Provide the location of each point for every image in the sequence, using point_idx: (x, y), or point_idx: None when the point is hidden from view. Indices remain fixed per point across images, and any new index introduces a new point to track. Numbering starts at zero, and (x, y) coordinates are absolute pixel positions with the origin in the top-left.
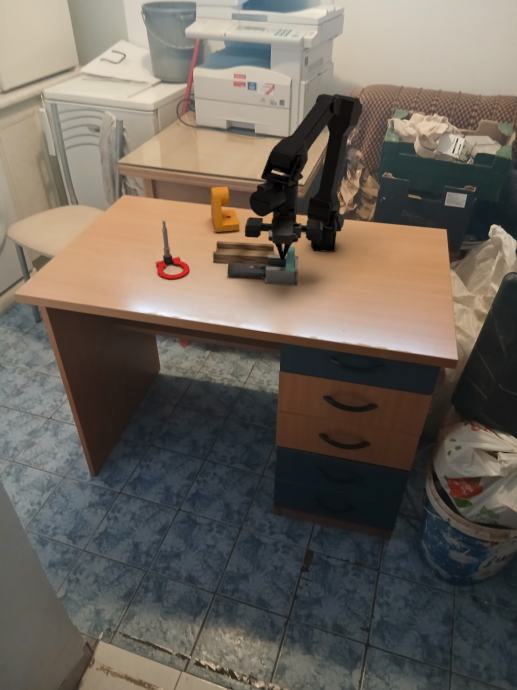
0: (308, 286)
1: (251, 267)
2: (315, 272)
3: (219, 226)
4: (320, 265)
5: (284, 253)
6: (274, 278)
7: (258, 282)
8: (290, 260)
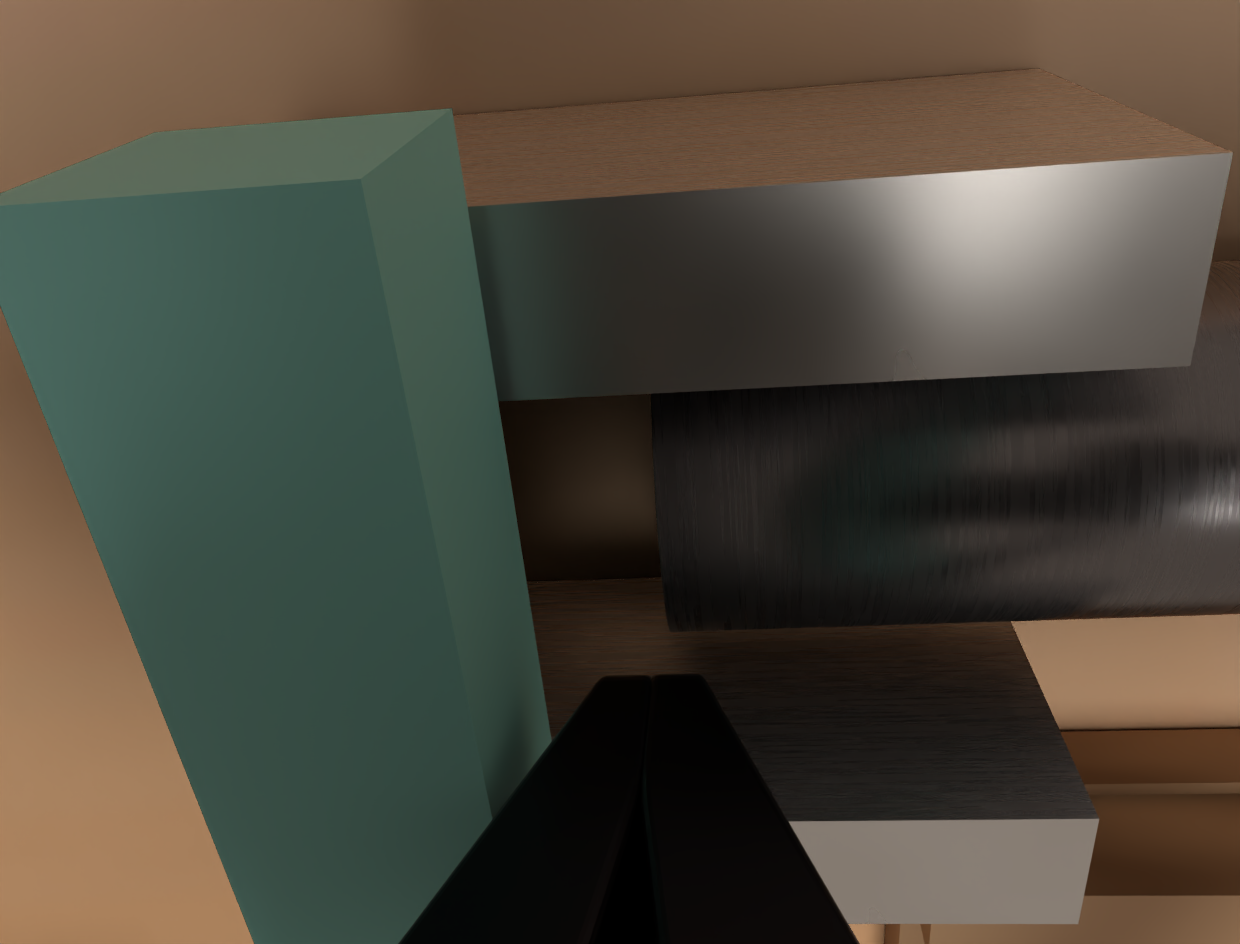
0: (23, 144)
1: None
2: (89, 643)
3: None
4: (91, 825)
5: (549, 872)
6: (831, 113)
7: (1218, 101)
8: (245, 526)
